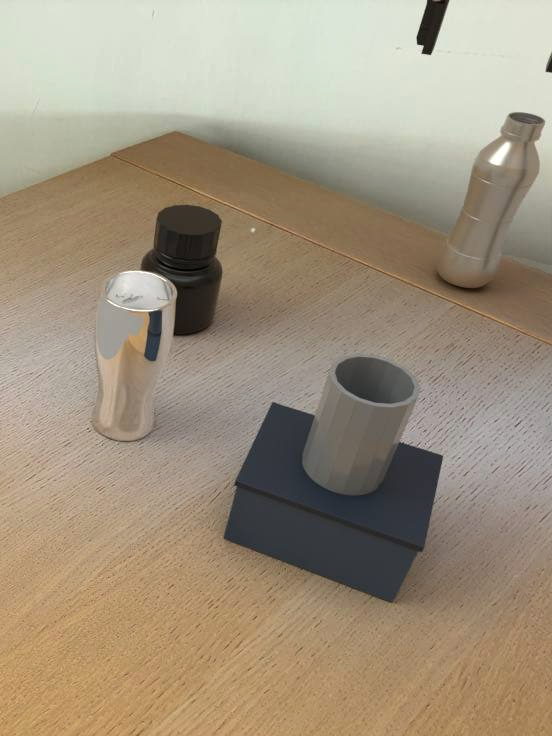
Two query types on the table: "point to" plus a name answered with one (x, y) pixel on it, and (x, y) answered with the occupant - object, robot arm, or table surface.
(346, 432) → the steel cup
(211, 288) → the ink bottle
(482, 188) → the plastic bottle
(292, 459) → the storage box
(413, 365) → the table surface
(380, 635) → the table surface
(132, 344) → the beer glass
